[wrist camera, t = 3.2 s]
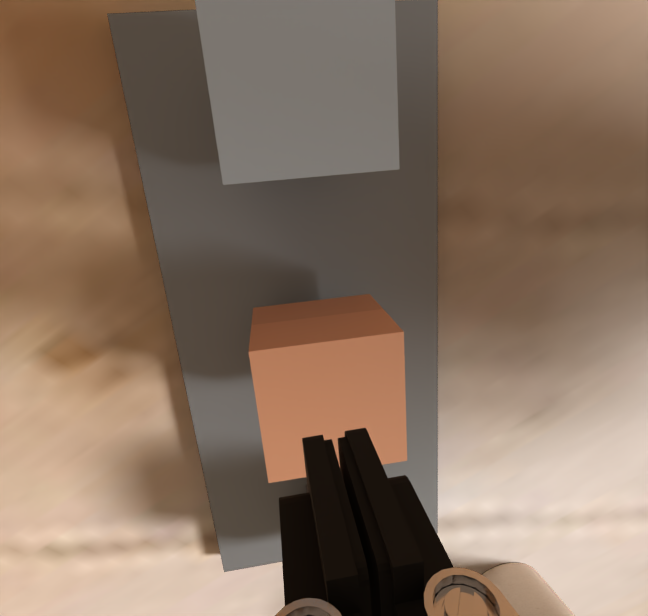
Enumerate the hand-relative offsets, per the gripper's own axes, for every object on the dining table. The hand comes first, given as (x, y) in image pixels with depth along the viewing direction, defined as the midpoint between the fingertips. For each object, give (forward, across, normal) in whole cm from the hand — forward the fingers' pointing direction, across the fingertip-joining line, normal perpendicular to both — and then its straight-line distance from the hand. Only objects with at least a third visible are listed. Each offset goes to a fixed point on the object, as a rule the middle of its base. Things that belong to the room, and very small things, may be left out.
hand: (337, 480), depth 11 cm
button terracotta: (+8, -1, 0) cm, 8 cm away
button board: (+12, -1, 0) cm, 12 cm away
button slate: (+8, -1, -10) cm, 13 cm away
